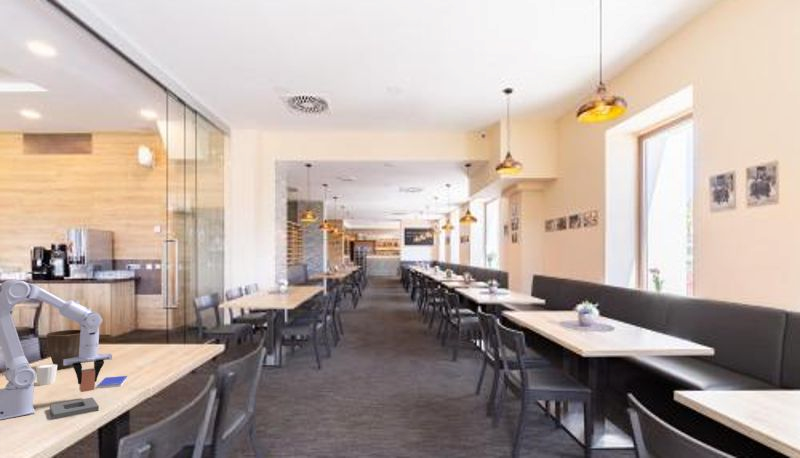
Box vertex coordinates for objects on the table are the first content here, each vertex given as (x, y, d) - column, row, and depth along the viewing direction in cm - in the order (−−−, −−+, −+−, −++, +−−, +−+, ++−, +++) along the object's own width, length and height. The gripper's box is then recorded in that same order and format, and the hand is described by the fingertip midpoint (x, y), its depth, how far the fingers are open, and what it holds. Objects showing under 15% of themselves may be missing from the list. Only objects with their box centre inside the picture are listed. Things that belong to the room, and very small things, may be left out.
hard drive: (120, 383, 178) (127, 375, 189) (96, 385, 175) (104, 377, 186) (120, 387, 177) (127, 379, 189) (96, 389, 175) (104, 381, 186)
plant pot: (89, 362, 215) (91, 329, 216) (78, 370, 201) (80, 334, 202) (53, 364, 211) (54, 330, 211) (38, 372, 196) (40, 336, 197)
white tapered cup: (55, 379, 186) (56, 362, 186) (58, 383, 181) (58, 365, 181) (34, 383, 181) (35, 365, 181) (36, 386, 176) (37, 368, 176)
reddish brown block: (81, 392, 159) (82, 372, 160) (79, 389, 162) (80, 370, 163) (94, 389, 162) (95, 370, 162) (92, 387, 165) (93, 368, 165)
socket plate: (53, 419, 142) (53, 414, 142) (49, 409, 151) (50, 404, 151) (98, 410, 150) (98, 405, 150) (92, 401, 159) (92, 397, 159)
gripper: (65, 349, 155) (63, 388, 154) (114, 343, 165) (112, 381, 164) (63, 345, 160) (61, 384, 160) (110, 340, 170) (108, 377, 169)
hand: (87, 382), depth 162 cm, fingers closed on reddish brown block, 4 cm apart
